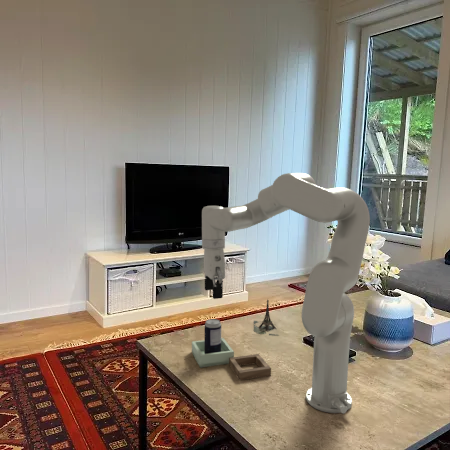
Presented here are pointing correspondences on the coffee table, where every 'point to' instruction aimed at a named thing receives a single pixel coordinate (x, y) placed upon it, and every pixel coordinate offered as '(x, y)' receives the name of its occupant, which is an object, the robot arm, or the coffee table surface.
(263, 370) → the socket block
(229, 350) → the tray
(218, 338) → the beverage can
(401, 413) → the coffee table surface
